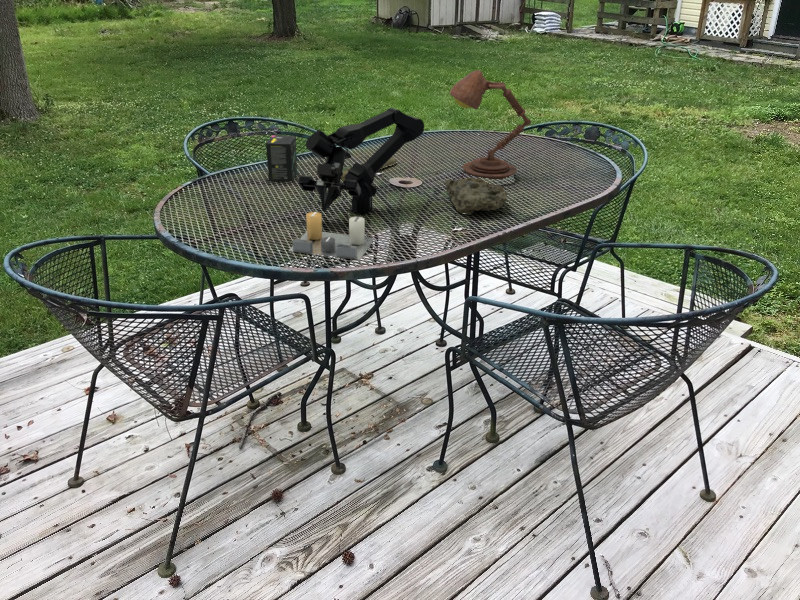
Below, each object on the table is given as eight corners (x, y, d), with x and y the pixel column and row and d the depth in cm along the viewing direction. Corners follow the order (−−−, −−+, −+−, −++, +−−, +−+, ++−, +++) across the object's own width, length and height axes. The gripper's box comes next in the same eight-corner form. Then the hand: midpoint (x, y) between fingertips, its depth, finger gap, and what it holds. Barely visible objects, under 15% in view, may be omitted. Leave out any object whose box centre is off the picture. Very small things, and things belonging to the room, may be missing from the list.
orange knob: (310, 233, 194) (309, 210, 190) (324, 235, 193) (323, 212, 190) (305, 238, 190) (304, 215, 187) (319, 240, 189) (318, 217, 186)
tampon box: (274, 172, 250) (271, 134, 243) (297, 173, 250) (296, 135, 243) (267, 181, 240) (265, 142, 233) (292, 182, 240) (290, 143, 233)
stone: (442, 195, 232) (443, 173, 228) (493, 193, 236) (495, 171, 232) (460, 220, 211) (462, 196, 207) (517, 218, 214) (520, 194, 210)
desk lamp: (438, 170, 258) (444, 65, 239) (514, 168, 264) (526, 65, 245) (451, 187, 240) (459, 75, 221) (533, 185, 246) (547, 74, 227)
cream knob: (351, 238, 191) (351, 215, 188) (366, 239, 191) (366, 216, 187) (347, 243, 188) (347, 220, 184) (362, 245, 187) (362, 222, 183)
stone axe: (396, 153, 264) (395, 167, 237) (397, 166, 266) (396, 181, 239) (333, 158, 265) (325, 172, 238) (335, 170, 267) (326, 186, 239)
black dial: (323, 246, 186) (323, 235, 185) (337, 247, 186) (336, 237, 184) (319, 251, 183) (318, 241, 182) (332, 253, 182) (332, 242, 181)
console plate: (307, 233, 197) (307, 220, 195) (374, 241, 193) (374, 228, 191) (288, 254, 183) (287, 240, 181) (359, 263, 180) (359, 249, 178)
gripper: (298, 149, 195) (286, 195, 190) (358, 154, 191) (347, 202, 187) (308, 167, 205) (297, 212, 201) (365, 172, 202) (355, 218, 198)
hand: (323, 210), depth 196 cm, fingers closed
